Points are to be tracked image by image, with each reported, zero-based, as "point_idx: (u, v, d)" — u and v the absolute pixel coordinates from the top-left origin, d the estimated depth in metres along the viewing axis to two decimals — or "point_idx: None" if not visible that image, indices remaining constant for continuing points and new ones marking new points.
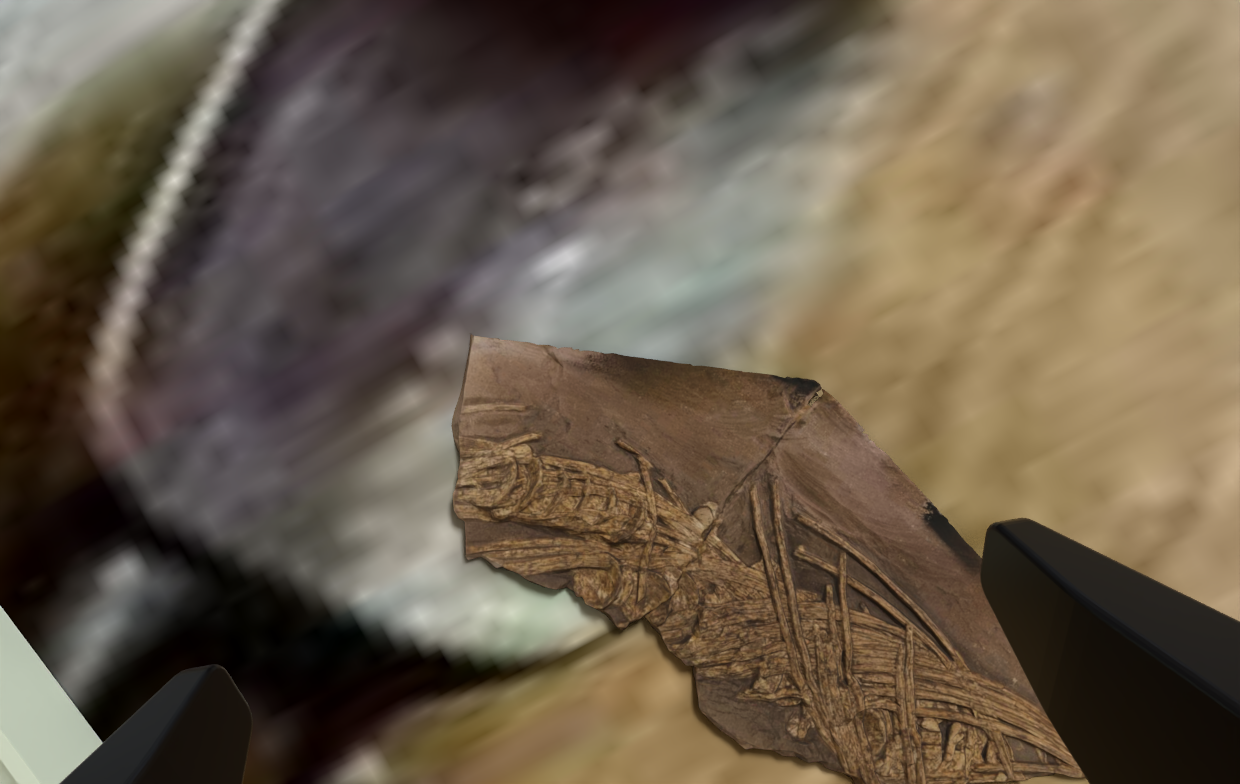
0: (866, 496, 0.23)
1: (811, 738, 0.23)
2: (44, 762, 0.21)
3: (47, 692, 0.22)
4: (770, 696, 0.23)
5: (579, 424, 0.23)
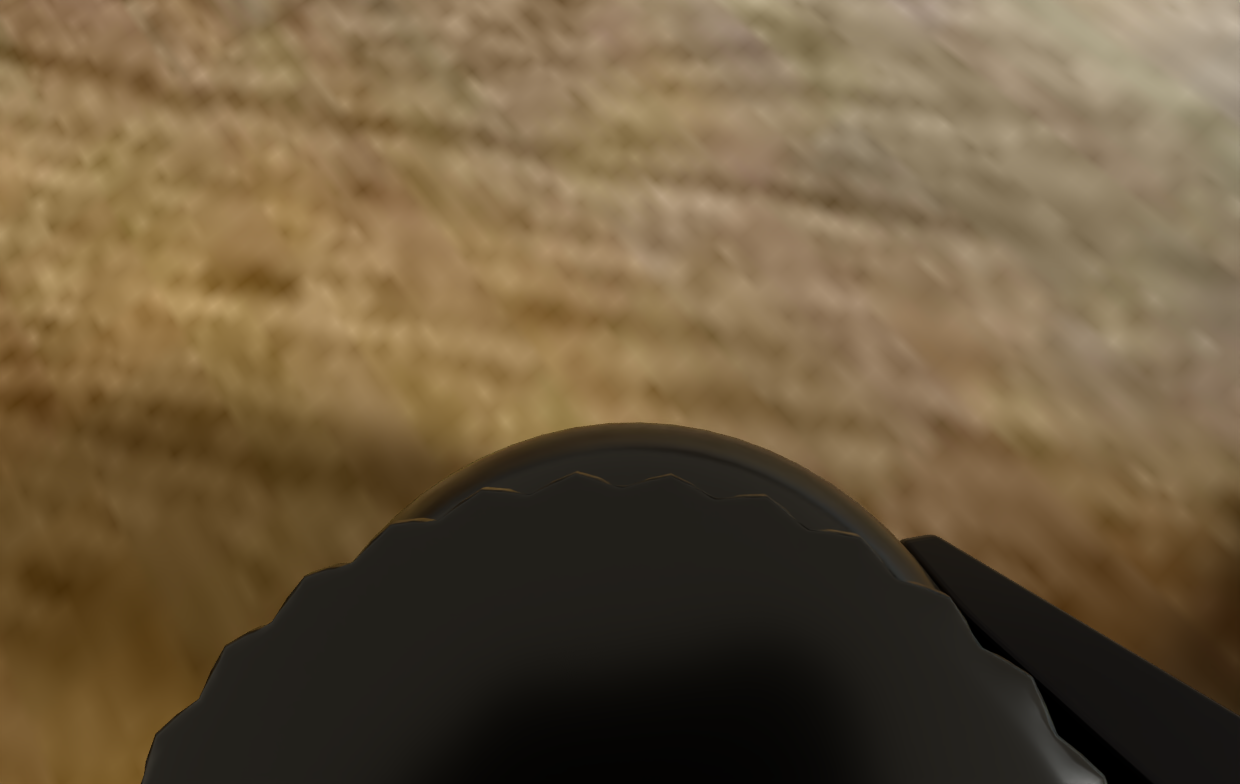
0: None
1: None
2: None
3: None
4: None
5: None
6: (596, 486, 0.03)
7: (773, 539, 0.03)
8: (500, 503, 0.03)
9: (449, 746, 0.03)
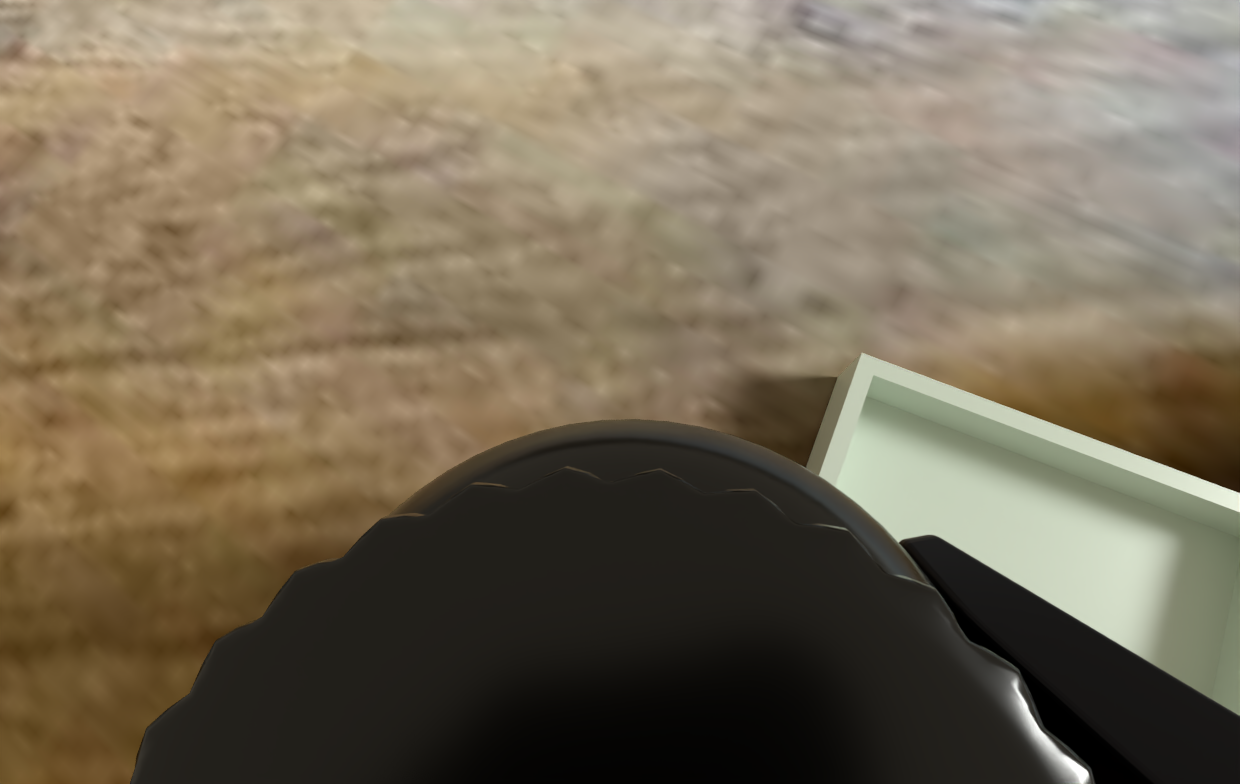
0: None
1: None
2: None
3: None
4: None
5: None
6: (585, 481, 0.03)
7: (761, 533, 0.03)
8: (490, 498, 0.03)
9: (438, 740, 0.03)
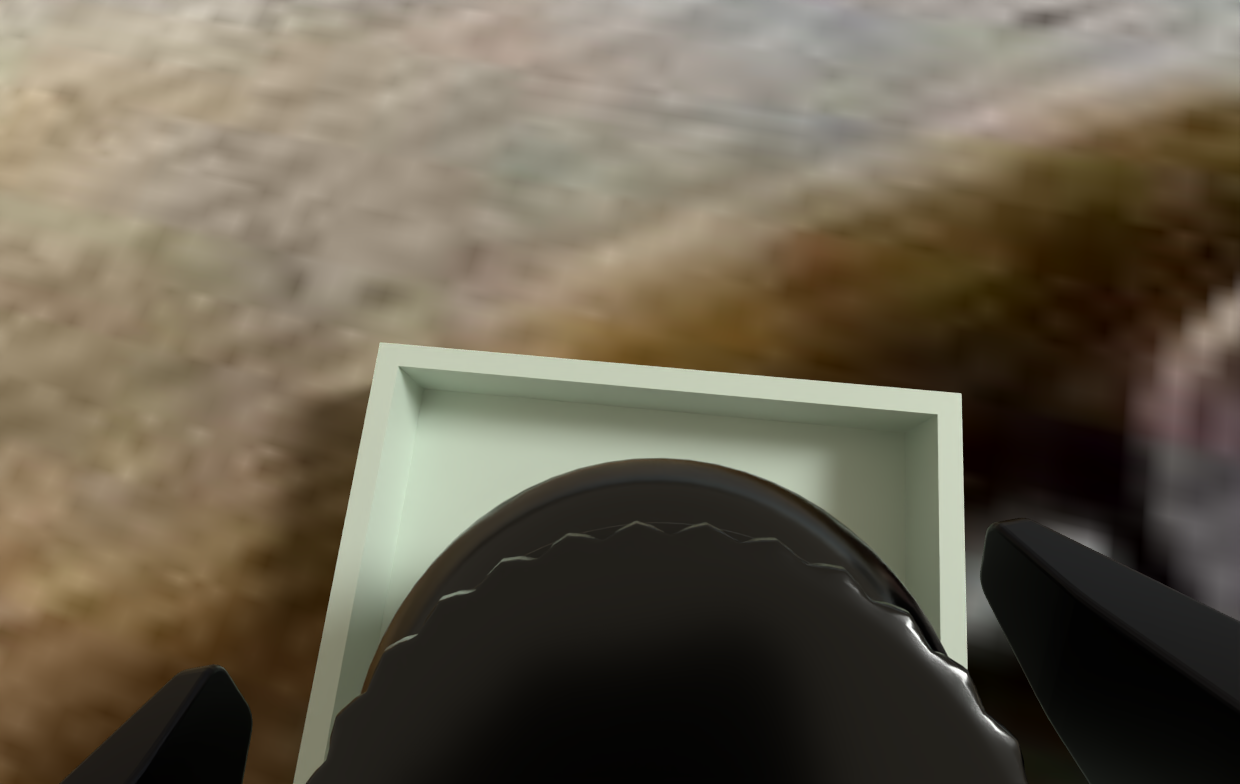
0: None
1: None
2: None
3: None
4: None
5: None
6: (652, 533, 0.05)
7: (782, 572, 0.05)
8: (581, 546, 0.05)
9: (552, 723, 0.04)
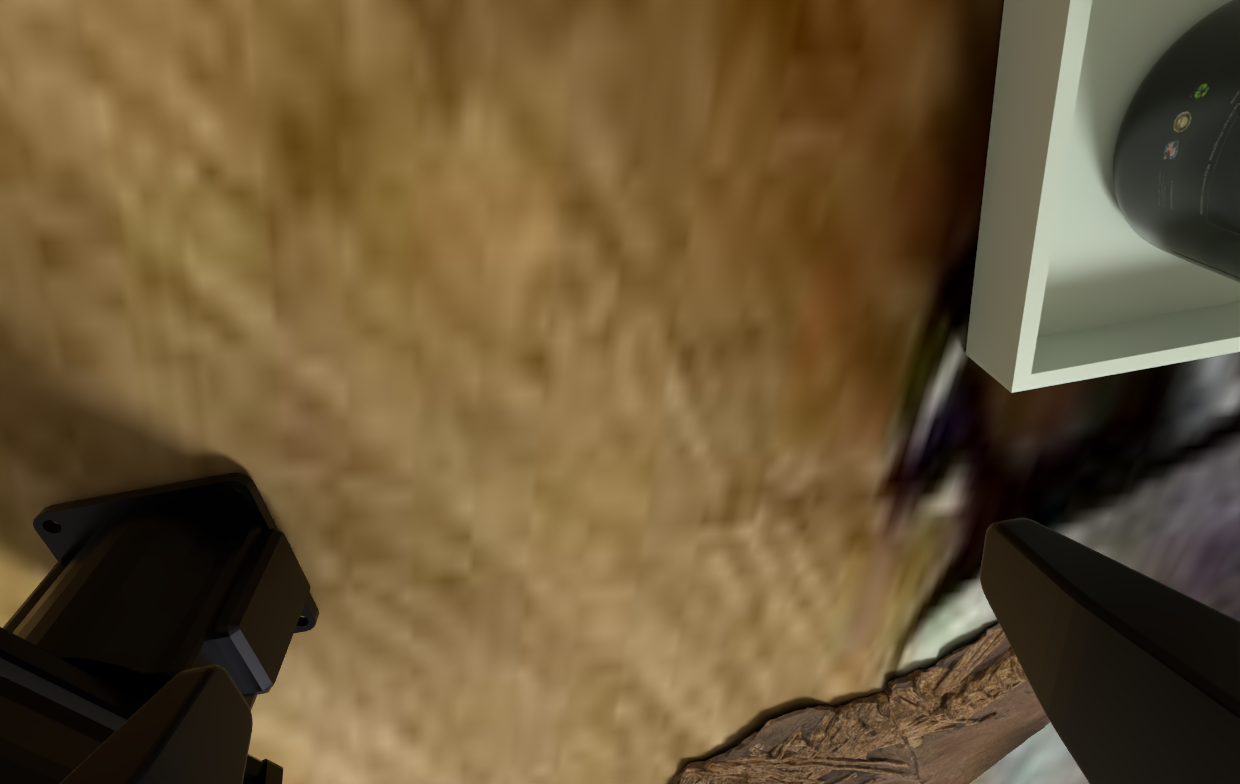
0: None
1: (744, 751, 0.31)
2: None
3: None
4: (789, 744, 0.31)
5: (1022, 698, 0.31)
6: None
7: None
8: None
9: None
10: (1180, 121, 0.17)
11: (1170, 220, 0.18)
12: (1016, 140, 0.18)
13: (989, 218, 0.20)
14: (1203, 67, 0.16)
